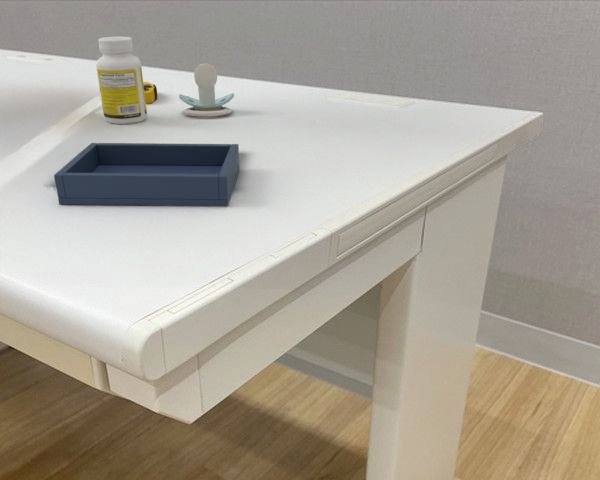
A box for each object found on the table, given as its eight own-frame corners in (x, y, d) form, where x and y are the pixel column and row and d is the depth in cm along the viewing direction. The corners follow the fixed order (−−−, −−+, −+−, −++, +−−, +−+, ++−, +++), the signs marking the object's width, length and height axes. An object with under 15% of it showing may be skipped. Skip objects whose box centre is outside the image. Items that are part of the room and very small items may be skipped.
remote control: (122, 91, 89) (123, 73, 102) (123, 105, 90) (125, 86, 103) (157, 90, 90) (154, 72, 103) (158, 104, 91) (155, 85, 104)
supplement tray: (59, 204, 54) (53, 175, 53) (95, 168, 63) (91, 142, 62) (228, 206, 54) (226, 176, 53) (239, 170, 63) (238, 143, 62)
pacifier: (235, 119, 83) (234, 108, 88) (233, 69, 80) (232, 60, 85) (178, 120, 82) (181, 109, 88) (174, 70, 79) (177, 61, 84)
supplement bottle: (121, 113, 85) (111, 34, 80) (155, 117, 83) (147, 37, 78) (95, 122, 81) (83, 39, 76) (130, 126, 79) (120, 41, 74)
